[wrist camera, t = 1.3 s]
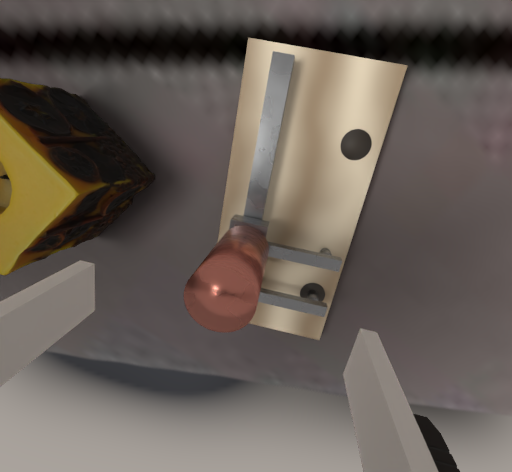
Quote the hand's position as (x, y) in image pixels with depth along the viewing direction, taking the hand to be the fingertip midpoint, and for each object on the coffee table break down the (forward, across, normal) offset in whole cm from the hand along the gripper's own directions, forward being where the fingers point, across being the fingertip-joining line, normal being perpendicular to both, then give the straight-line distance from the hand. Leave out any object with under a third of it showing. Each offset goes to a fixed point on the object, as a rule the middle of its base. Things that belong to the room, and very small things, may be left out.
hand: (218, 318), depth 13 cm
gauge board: (+14, +2, +3) cm, 15 cm away
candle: (+14, -18, +2) cm, 23 cm away
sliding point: (+13, +3, 0) cm, 13 cm away
